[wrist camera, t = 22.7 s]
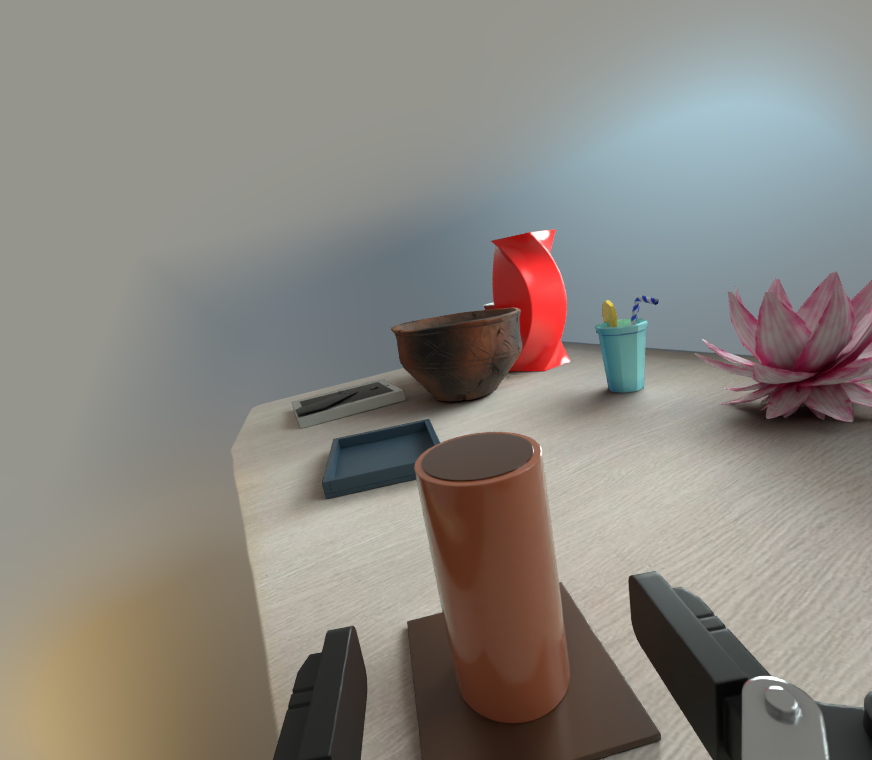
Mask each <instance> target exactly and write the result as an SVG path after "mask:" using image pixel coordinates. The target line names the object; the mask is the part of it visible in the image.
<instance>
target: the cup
mask: <svg viewBox="0 0 872 760" xmlns="http://www.w3.org/2000/svg"><path fill="white" fill-rule="evenodd" d="M641 301H642V302H646V303H651V304H655V305H656V304H658V299H654V298H650V297H646V296H642V295H640V296H639V297H638V298H636V300H635V302H634V306H633V311H632V317H631V319H623V320H617V315H616V312H615V309H614V305H613V304H612V303H611V302H610V301H609V300H607V301H605V302H604V303H603V305H602V316H603V320H604V323H602V324H599V325H597V326H596V327H595V328H596V333H598V334H599V339H600V345H601V351H602V356H603V361H604V367H605V372H606V377H607V383H608V388H609V389H610V390H611V391H612V392H620V393H627V392H634V391H638V390H640V389H642V388H644V367H645V334H646V333H645V332H646V328H648V321H646V320H643V319H637V317H638V312H639V306H640V302H641Z"/></svg>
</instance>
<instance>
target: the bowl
mask: <svg viewBox="0 0 872 760" xmlns="http://www.w3.org/2000/svg"><path fill="white" fill-rule="evenodd" d="M520 312H521V310H520V309H518V308H514V307H512V308H506V309H505V308H504V309H490V310H483V311H474V312H464V313H457V314H451V315H445V316H440V317H434V318H428V319H422V320H417V321H412V322H408V323H403V324H400V325H397V326H394V327H392V328H391V330H392V331H393V332H394V333H395V336H396V339H397V345H398V352H399V359H400V362H401V364H402V365H403V367H404V369H405V370H406V371H407V372H408V373H410V374H411V376H412V377H413V378H415V379H416V380H417V381H418V382H419V383H420V384H421V385H422V386H423V387H424V388H425V389H426V390H427V391H428V392H429V393H431V394H432V395H433V397H434V398H435V399H437V400H439V401H450V402H452V401H461V400H463V399H465V400H473V399H476V398H479V397H483V396H485V395H488V394H490V393H492V392H493V391H495V390H496V389H497V387H498V386H499V384H500V383H501V381H502V380H503V379H504V377H505V376H506V374H507V373H508V372H509V370H510V369H511V367H512V366H513V364H514V363H515V362H516V360H517V359H518V357H519V355H520V354H521V351H522V341H521V336H520V326H519V319H520Z"/></svg>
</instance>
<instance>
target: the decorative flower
mask: <svg viewBox="0 0 872 760" xmlns="http://www.w3.org/2000/svg"><path fill="white" fill-rule="evenodd" d="M728 296H729V306H730V316H731V321H732V324H733V325H734V328H735V330H736V332H737V334H738V336H739V338H740V340H741V342H742V344H743V345H744V346H745V347H746V348H747V349H748V350H749V351H750V352H751V353H752V354H753V355H754V356H755V357H756V358H757V359H758V360H759V361H760V363H761V365H760V364H757V363H754V362H752V361H749V360H746V359H743V358H741V357H738V356H735V355H732V354H730V353H727V352H725V351H723V350H721V349H719V348H718V347H716V346H714V345H712V344H711V343H709V342H707V341H705V340H703V339H702V340H703V341H704V342H705V343H706V345H707V346H708V347H709V348H710V349H711V350H712V351H714V352H715V353H717V354H718V355H720V356H721V357H723V358H724V359H726V360H728V361H730V362H733V363H736V364H738V365H741V366H744V367H740V366H734V365H729V364H725V363H722V362H719V361H716V360H713V359H710V358H708V357H705V356H702V355H699V354H696V353H694V354H695V355H696V356H697V357H699V358H700V359H702V360H703V361H704V362H706V363H707V364H709V365H710V366H712V367H715V368H718V369H720V370H723V371H725V372H728V373H731V374H736V375H741V376H747V377H753V379H754V380H755V381H757V382H760V383H758V384H755V385H752V386H749V387H745V388H724V389H727V390H731V391H736V392H738V391H749V390H756V389H759V390H757V391H755V392H753V393H751V394H748V395H746V396H744V397H742V398H739V399H737V400H734V401H729V402H725V403H721V404H731V405H734V404H739V403H745V402H751V401H754V400H756V399H759V398H761V397H764V396H766V395H769V394H770V395H769V396H768V397H767V398H766V399H764V400H763V401H762V402H765V401H768V400H769V402H768V403H767V404H766V405H765V406H764V407H763V408H762V409H761V410H764V409H766V408H767V412H766V418H767V419H770V418H774V417H778V416H781V415H783V416H784V419H785V418H786V417H788V416H789V415H791V414H792V413H794V412H795V411H796V410H797V409H798V408H799V406H800V405H801V404H802V403H803V402H804V404H805V405H806V406H807V407H808V408H809V409H810V410H811V411H812V412H813V413H814V414H815V415H816V416H817V417H818V418H820V419H822V420H824V418H825V415H828V416H831V417H833V418H835V419H837V420H842V421H846V422H852V421H853V409H852V405H851V402H852V403H857V404H861V405H865V406H869V407H872V385H866V384H861V383H857V382H858V381H862V380H866V379H870V378H872V280H871V281H870V282H869V283H868V285H866V286H865V287H864V288H863V289H862V290H861V291H860V292H859V293H858V294H857V295H856V296H855V297H854V298H853V299H852V300H851V301H850V299H849V298H848V296H847V294H846V292H845V290H844V289H843V287H842V284H841V281H840V279H839V276H838V273H837V272H834V273H831V274H830V275H829V276H828V277H827V278H826V279H825V280H824V281H823V282H822V283H821V284H820V285H819V286H818V287H817V288H816V289H815V291H814V292H813V293H812V294H811V295H810V297H809V298H808V299H807V300H806V301H805V303H804V304H803V305H802V306H801V307H800V309H799V310H798V312H797V313H795V312H794V310H793V308H792V306H791V304H790V302H789V300H788V297H787V295H786V293H785V291H784V289H783V287H782V285H781V282H780V280H779V279H775V280H774V281H773V283H772V285H771V286H770V288H769V290H768V292H766V293H765V295H764V298H763V301H762V304H761V307H760V310H759V316H758V321H757V320H756V319H755V318H754V316H753V315H752V314H751V313H750V312H749V311H748V310H747V309H746V308H745V307H744V305H743V303H742V301H741V298H740V295H739V293H738V290H737V287H736V297H735V296H734V294H733V293H732V292H728ZM745 367H746V368H745ZM760 388H761V389H760ZM761 410H760V411H761Z"/></svg>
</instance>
